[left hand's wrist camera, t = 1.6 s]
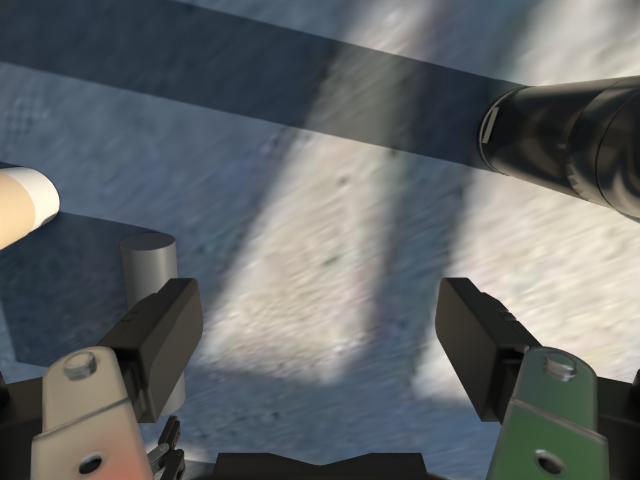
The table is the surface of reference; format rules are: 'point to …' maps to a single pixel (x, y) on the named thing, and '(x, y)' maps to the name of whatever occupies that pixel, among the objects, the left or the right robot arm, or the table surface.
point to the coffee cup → (24, 203)
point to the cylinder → (151, 282)
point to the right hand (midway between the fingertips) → (138, 419)
